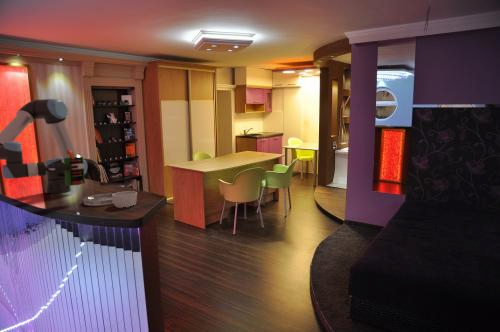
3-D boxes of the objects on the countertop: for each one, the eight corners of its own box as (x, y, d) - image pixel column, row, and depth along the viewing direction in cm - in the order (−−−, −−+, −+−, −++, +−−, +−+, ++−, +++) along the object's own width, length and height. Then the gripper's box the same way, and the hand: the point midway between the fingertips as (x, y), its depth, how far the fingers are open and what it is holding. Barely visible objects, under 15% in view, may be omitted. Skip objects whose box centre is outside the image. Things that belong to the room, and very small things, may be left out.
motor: (75, 185, 194) (71, 150, 192) (61, 185, 196) (58, 151, 194) (87, 183, 204) (84, 149, 202) (74, 183, 206) (71, 150, 204)
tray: (80, 201, 205) (80, 196, 205) (114, 196, 217) (114, 192, 217) (88, 208, 189) (87, 203, 189) (124, 202, 201) (124, 197, 201)
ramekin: (111, 209, 186) (110, 197, 185) (114, 203, 198) (113, 192, 197) (137, 207, 189) (136, 195, 188) (138, 201, 202) (137, 190, 201)
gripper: (36, 173, 196) (79, 169, 209) (39, 178, 180) (86, 173, 194) (34, 160, 195) (78, 157, 208) (37, 164, 179) (85, 160, 192)
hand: (82, 165), depth 201 cm, fingers closed on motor, 7 cm apart
